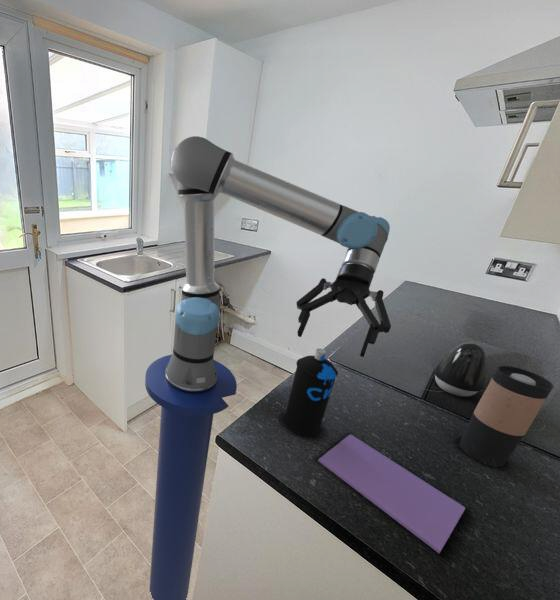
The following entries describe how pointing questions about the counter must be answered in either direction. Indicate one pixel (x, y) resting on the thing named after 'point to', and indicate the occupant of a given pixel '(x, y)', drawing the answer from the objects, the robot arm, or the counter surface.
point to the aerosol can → (310, 394)
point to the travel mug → (504, 414)
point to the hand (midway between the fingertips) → (329, 344)
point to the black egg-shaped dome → (462, 370)
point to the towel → (395, 491)
